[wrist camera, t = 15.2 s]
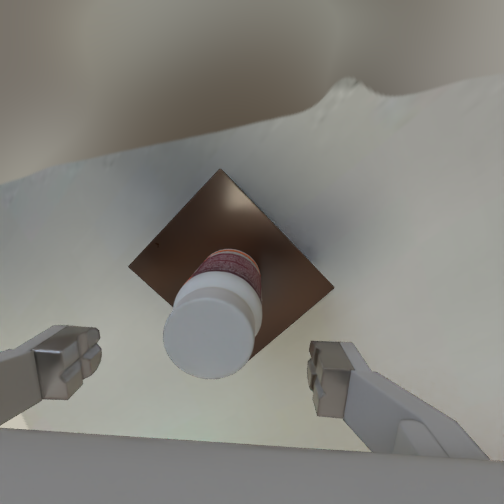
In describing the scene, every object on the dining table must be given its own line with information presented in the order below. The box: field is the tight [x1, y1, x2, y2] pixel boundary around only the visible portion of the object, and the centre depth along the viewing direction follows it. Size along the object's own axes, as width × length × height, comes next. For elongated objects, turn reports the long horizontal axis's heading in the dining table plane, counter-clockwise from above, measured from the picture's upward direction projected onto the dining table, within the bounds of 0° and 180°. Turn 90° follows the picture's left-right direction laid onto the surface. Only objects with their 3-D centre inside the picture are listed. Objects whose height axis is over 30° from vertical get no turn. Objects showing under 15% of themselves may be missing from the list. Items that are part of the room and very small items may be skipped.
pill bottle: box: [163, 249, 262, 379], centre depth 14 cm, size 5×5×8 cm
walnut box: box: [128, 169, 334, 361], centre depth 22 cm, size 12×10×7 cm
